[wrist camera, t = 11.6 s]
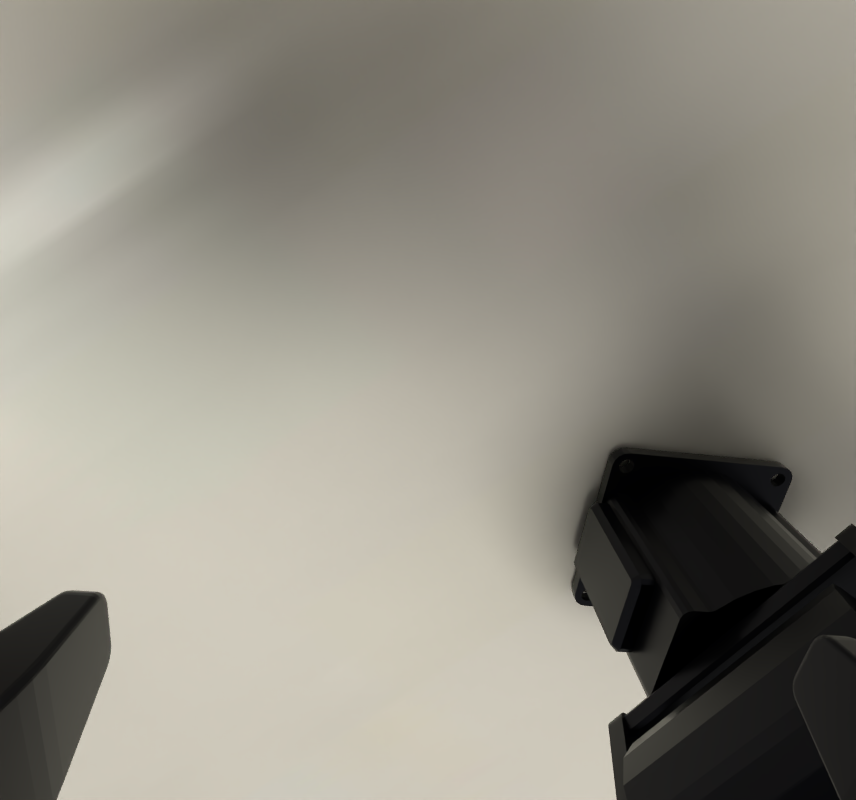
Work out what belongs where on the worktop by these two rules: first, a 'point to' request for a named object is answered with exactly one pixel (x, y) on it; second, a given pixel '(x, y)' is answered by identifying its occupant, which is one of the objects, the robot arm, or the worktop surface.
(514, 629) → the worktop surface
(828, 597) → the robot arm
